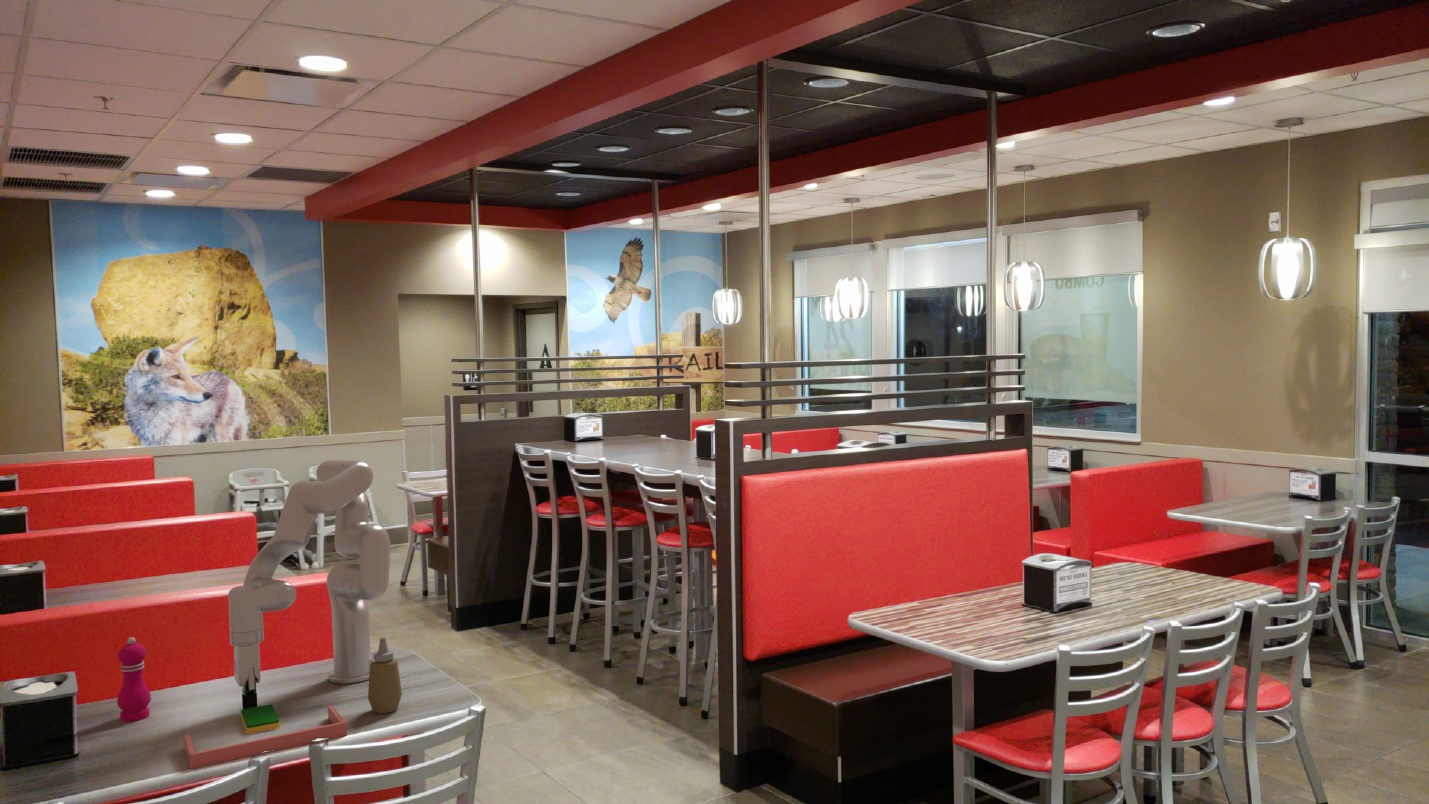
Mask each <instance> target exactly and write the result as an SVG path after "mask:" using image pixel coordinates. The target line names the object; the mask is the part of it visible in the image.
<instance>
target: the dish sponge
mask: <svg viewBox="0 0 1429 804" xmlns="http://www.w3.org/2000/svg"><path fill="white" fill-rule="evenodd" d="M240 718H241V721H242V723H243V727H244V730H245V732H246V734H247V735H251V734H257V733H261V732H267V731H271V730H276V729H277V730H278V729H280V727H281V726H280V725H281V724H280V721H281V720H280V718H279V716H278V713H277V712H276V710H275V707H274V705H273V704H272V703H269V704H265V705H257V707H252V708H246V709H243V708H241V709H240Z"/></svg>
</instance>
